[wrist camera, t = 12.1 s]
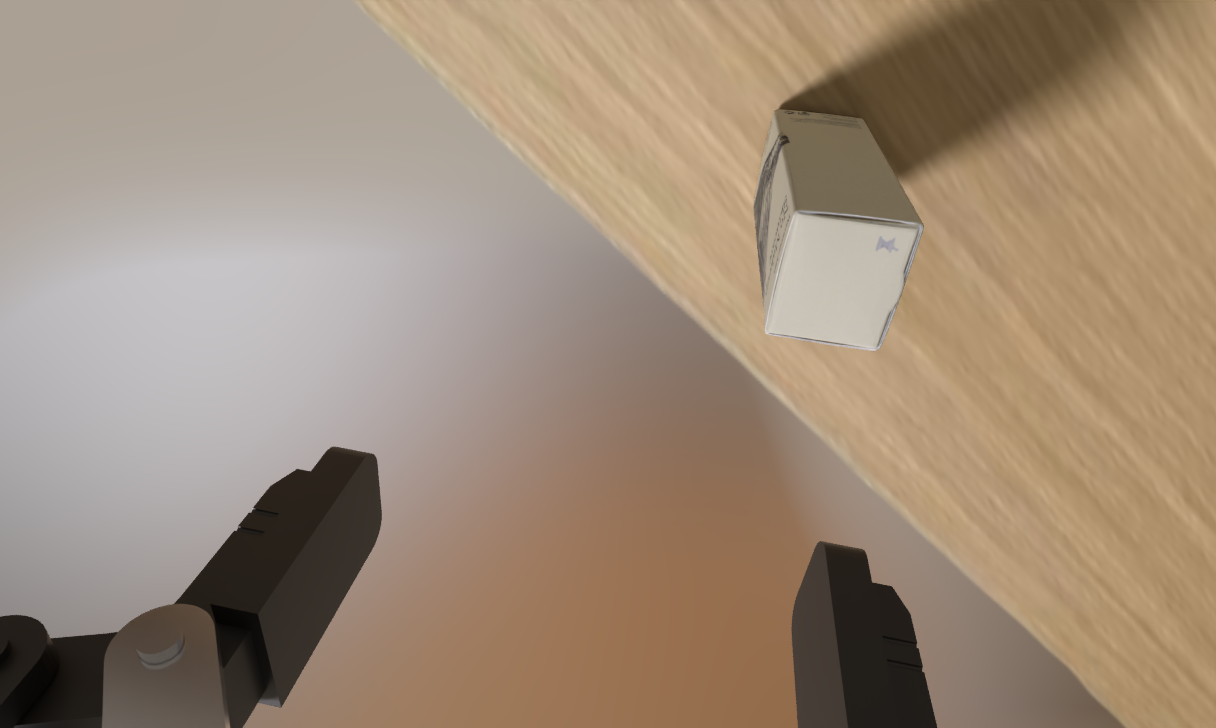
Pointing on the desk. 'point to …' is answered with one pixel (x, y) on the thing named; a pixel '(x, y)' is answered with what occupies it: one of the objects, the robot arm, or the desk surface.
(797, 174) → the box
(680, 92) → the desk surface
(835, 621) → the robot arm
